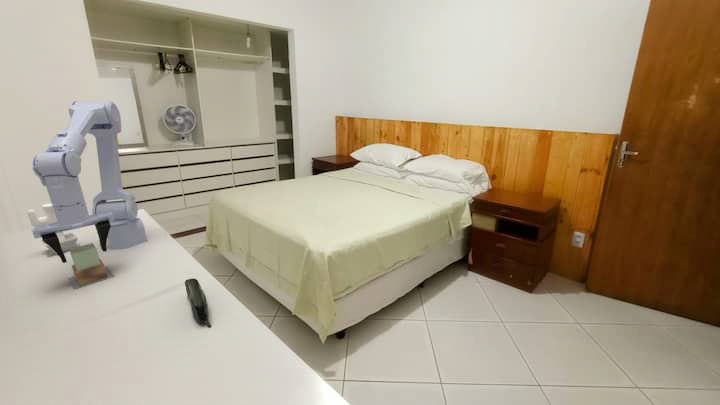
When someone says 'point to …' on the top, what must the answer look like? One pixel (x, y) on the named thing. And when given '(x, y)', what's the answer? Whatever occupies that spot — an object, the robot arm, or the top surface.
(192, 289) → the dark grey elongated piece
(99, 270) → the walnut block
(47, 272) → the top surface
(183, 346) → the top surface
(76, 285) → the base tile
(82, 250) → the green cube
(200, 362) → the top surface
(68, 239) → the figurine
